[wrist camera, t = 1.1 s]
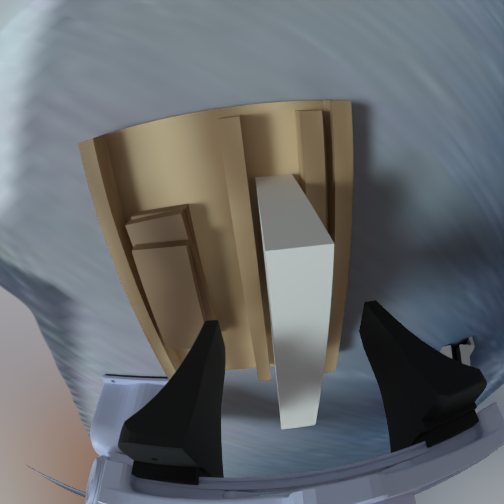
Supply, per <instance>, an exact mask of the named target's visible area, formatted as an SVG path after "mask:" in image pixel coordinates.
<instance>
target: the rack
mask: <svg viewBox="0 0 504 504" xmlns="http://www.w3.org/2000/svg"><path fill="white" fill-rule="evenodd" d="M78 145H79V150H80V154H81V158H82V163H83V167H84V171H85V175H86V179H87V182H88V186H89V190H90V193H91V197H92V200H93V204H94V207H95V210H96V213H97V217H98V220H99V223H100V226H101V229H102V232H103V235H104V238H105V241H106V243H107V246H108V249H109V252H110V254H111V257H112V260H113V262H114V265H115V268H116V270H117V273H118V275H119V278H120V280H121V283H122V285H123V287H124V290H125V292H126V294H127V297H128V299H129V301H130V304H131V306H132V308H133V310H134V312H135V315H136V317H137V319H138V321H139V323H140V325H141V327H142V329H143V331H144V333H145V336H146V338H147V340H148V342H149V343H150V345H151V347H152V349H153V351H154V353H155V355H156V357H157V359H158V361H159V363H160V364H161V366H162V368H163V370H164V372H165V373H166V375H167V377H168V379H169V380H170V379H171V377H172V376H173V375H174V373H175V372H176V371H177V369H178V368H179V366H180V365H181V363H182V362H183V360H184V359H185V357H186V356H187V354H188V352H189V351H190V349H167V348H166V345H165V343H164V340H163V338H162V336H161V333H160V331H159V328H158V326H157V323H156V320H155V318H154V315H153V313H152V310H151V307H150V304H149V302H148V299H147V296H146V293H145V291H144V288H143V285H142V282H141V279H140V276H139V273H138V270H137V267H136V264H135V260H134V257H133V254H132V249H133V245H132V243H131V240H130V237H129V235H128V232H127V229H126V226H125V225H126V224H127V223H128V221H129V220H131V216H132V215H133V214H134V212H139V211H145V210H151V209H157V208H163V207H170V206H176V205H183V204H188V205H189V210H190V214H191V219H192V224H193V228H194V233H195V237H196V242H197V246H198V251H199V255H200V259H201V263H202V268H203V272H204V276H205V280H206V284H207V288H208V292H209V296H210V299H211V302H212V305H213V308H214V311H215V314H216V317H217V320H218V322H219V325H220V329H221V333H222V337H223V340H224V344H225V353H226V366H225V370H231V369H246V368H257V374H258V379H259V381H264V380H271V372H270V366H275V361H274V351H273V342H272V332H271V322H270V312H269V302H268V292H267V282H266V272H265V263H264V253H263V244H262V234H261V225H260V216H259V207H258V198H257V189H256V180H255V178H256V177H265V176H275V175H286V174H292V175H293V176H294V178H295V180H296V181H297V183H298V184H299V186H300V187H301V189H302V191H303V192H304V194H305V195H306V197H307V199H308V200H309V202H310V203H311V205H312V207H313V208H314V210H315V212H316V213H317V215H318V217H319V218H320V220H321V222H322V223H323V225H324V227H325V228H326V230H327V232H328V234H329V235H330V237H331V239H332V241H333V242H334V261H333V280H332V295H331V308H330V319H329V330H328V340H327V349H326V357H325V365H324V373H328V372H334V371H335V369H336V364H337V358H338V352H339V346H340V340H341V333H342V326H343V319H344V311H345V303H346V295H347V285H348V275H349V264H350V251H351V236H352V216H353V127H352V108H351V101H346V100H314V101H288V102H273V103H261V104H251V105H242V106H234V107H226V108H219V109H213V110H207V111H201V112H195V113H190V114H184V115H179V116H174V117H170V118H165V119H161V120H156V121H152V122H148V123H144V124H140V125H136V126H133V127H129V128H125V129H122V130H118V131H115V132H112V133H108V134H105V135H102V136H99V137H96V138H93V139H90V140H87V141H84V142H81V143H78Z"/></svg>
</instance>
